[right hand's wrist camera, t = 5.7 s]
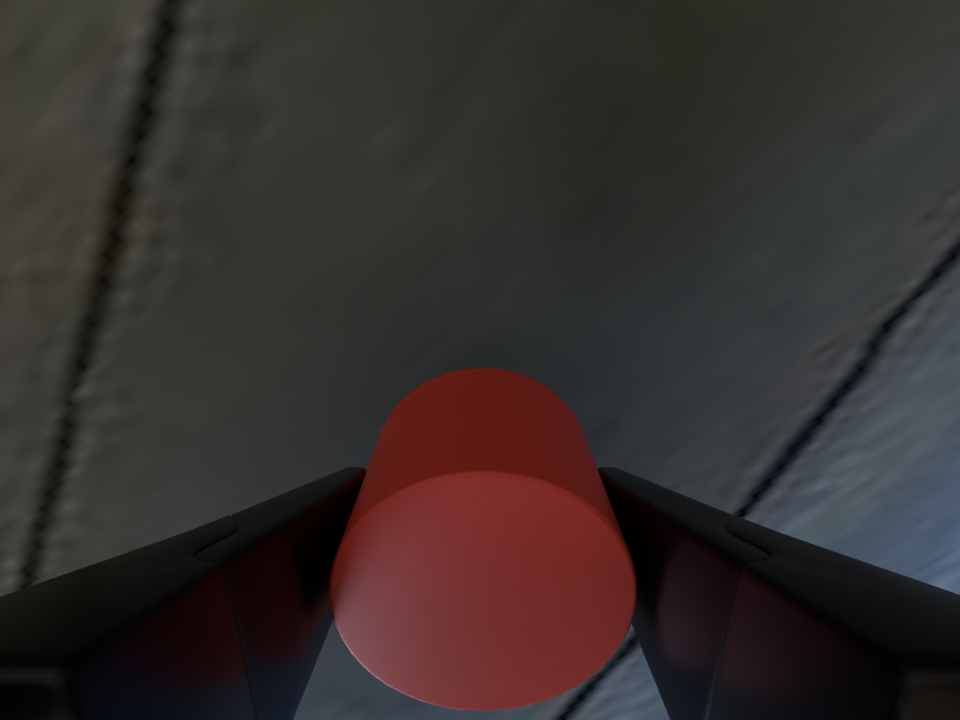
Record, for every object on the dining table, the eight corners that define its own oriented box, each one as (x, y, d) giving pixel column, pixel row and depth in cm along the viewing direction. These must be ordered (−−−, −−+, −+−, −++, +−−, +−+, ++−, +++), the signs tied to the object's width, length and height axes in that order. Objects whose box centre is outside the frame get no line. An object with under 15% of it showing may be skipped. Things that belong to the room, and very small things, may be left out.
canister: (333, 438, 12) (262, 569, 8) (515, 325, 11) (535, 412, 7) (454, 580, 14) (443, 749, 10) (625, 490, 13) (690, 639, 9)
